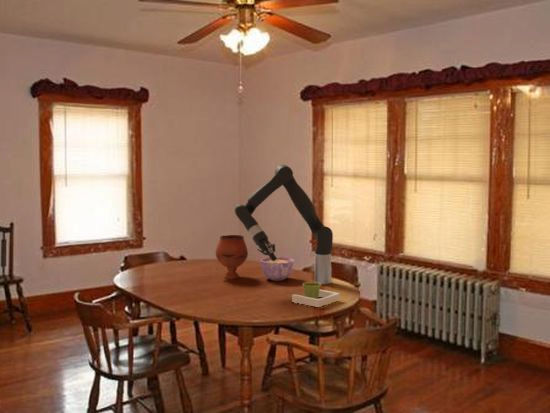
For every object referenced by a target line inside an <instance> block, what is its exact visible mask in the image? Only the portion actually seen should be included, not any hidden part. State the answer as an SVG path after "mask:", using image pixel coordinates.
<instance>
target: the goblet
mask: <svg viewBox="0 0 550 413" xmlns="http://www.w3.org/2000/svg"><path fill="white" fill-rule="evenodd" d="M244 238H245V236H244V235H242V234H240V235H239V234H227V235H221V236H219V240H218V243H217V246H216V249H215V256H216V260H217V261H218V262H219V263H220V264H221V266H224V267H226V268H227V272H226V273H225V274H224V278H225V279H231V280H232V279H238V278H239V277H240V275H239V274H238V273H237V269H238V268H239V267H241V266H242V265H243V264H244V263H245V261H247V258H248V254H249V252H248V251H249V250H248V248H247V244H246V242H245V239H244Z"/></svg>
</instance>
